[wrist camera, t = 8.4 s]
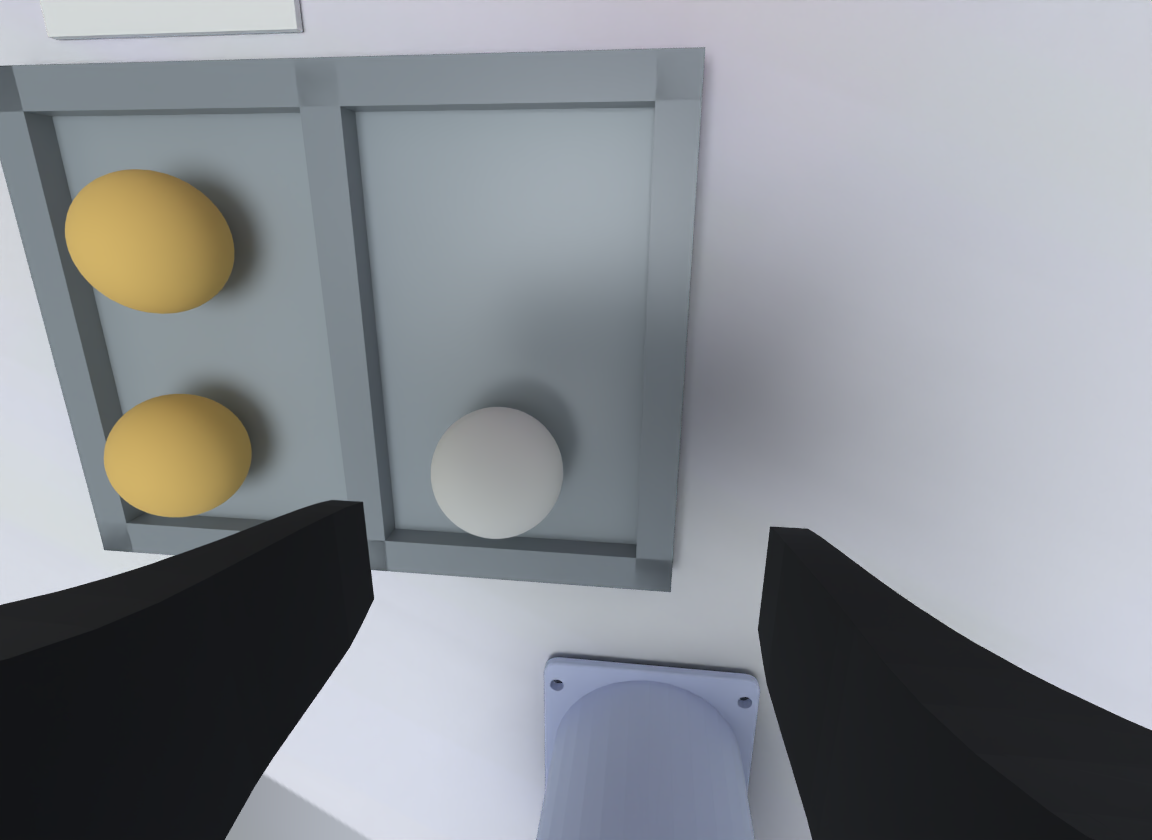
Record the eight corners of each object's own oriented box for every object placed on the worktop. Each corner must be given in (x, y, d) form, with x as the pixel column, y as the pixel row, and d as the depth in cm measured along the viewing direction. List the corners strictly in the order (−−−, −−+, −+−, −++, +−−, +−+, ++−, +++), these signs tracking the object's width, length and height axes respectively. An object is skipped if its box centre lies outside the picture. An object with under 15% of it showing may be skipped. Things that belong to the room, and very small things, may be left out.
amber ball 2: (284, 489, 22) (206, 544, 18) (182, 483, 22) (86, 536, 18) (267, 382, 21) (180, 417, 17) (160, 378, 21) (53, 411, 17)
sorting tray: (669, 569, 22) (670, 591, 20) (134, 531, 24) (104, 549, 23) (701, 61, 17) (705, 47, 15) (22, 77, 19) (-25, 66, 18)
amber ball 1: (270, 306, 20) (184, 324, 16) (156, 304, 20) (45, 321, 16) (251, 175, 19) (154, 161, 15) (130, 175, 19) (4, 161, 15)
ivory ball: (570, 506, 21) (552, 569, 17) (457, 499, 21) (415, 559, 17) (571, 393, 19) (551, 435, 16) (451, 389, 20) (404, 428, 16)
